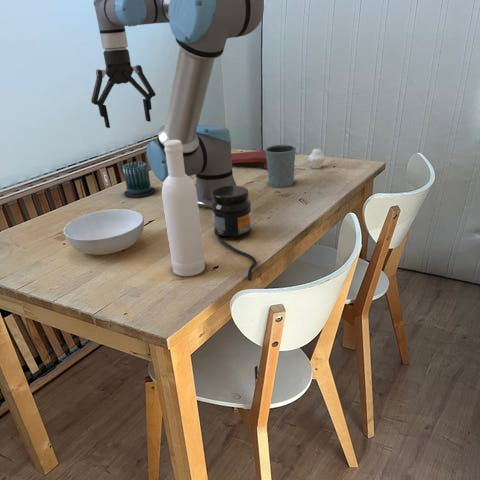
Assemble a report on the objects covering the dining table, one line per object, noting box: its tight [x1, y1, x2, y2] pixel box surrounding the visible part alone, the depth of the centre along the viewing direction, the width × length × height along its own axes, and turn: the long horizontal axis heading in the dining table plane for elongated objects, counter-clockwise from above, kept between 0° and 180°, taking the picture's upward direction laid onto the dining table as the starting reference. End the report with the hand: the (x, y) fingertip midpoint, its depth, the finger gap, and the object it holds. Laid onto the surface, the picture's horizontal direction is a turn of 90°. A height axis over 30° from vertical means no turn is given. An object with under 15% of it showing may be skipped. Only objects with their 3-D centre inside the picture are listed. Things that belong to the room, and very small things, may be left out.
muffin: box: [308, 148, 326, 170], centre depth 181 cm, size 6×6×7 cm
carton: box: [231, 149, 268, 170], centre depth 192 cm, size 12×5×25 cm
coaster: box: [123, 186, 157, 199], centre depth 169 cm, size 11×11×1 cm
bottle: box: [161, 140, 206, 277], centre depth 110 cm, size 8×8×30 cm
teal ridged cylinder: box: [122, 161, 152, 195], centre depth 167 cm, size 9×8×8 cm
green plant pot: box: [264, 144, 297, 188], centre depth 166 cm, size 10×10×12 cm
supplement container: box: [211, 185, 253, 241], centre depth 132 cm, size 10×10×12 cm
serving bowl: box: [62, 208, 145, 256], centre depth 130 cm, size 21×21×7 cm
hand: (128, 124), depth 157 cm, fingers open, 13 cm apart
